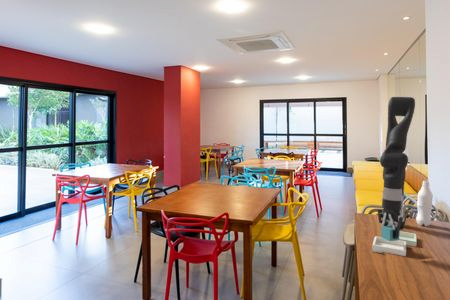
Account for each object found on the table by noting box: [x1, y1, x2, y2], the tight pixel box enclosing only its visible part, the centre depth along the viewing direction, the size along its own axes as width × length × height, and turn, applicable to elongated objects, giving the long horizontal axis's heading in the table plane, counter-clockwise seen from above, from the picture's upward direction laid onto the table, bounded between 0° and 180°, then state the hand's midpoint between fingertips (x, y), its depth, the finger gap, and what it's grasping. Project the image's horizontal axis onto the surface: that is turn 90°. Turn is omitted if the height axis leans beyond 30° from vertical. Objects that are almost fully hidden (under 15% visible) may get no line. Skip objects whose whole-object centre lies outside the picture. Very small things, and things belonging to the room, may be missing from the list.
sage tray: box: [399, 230, 417, 247], centre depth 144 cm, size 13×13×3 cm
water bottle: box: [415, 180, 434, 227], centre depth 169 cm, size 7×7×25 cm
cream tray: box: [371, 236, 407, 257], centre depth 134 cm, size 13×13×3 cm
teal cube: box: [380, 225, 401, 241], centre depth 133 cm, size 5×5×5 cm
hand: (390, 235), depth 133 cm, fingers closed on teal cube, 5 cm apart
